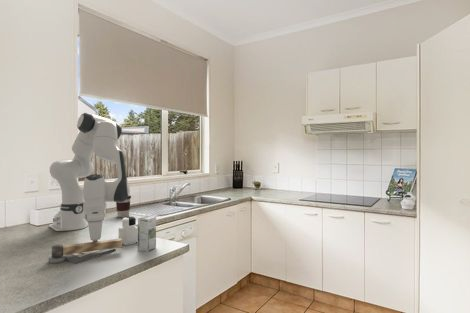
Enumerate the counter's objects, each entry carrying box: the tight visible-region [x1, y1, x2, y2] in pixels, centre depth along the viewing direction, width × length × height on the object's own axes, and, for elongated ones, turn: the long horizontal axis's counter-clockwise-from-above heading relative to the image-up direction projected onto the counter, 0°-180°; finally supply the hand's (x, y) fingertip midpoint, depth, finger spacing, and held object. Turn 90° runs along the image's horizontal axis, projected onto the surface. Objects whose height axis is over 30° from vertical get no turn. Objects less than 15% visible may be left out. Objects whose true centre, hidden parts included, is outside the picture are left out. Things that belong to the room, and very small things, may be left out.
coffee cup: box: [115, 194, 132, 218], centre depth 197 cm, size 10×10×15 cm
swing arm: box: [51, 238, 123, 258], centre depth 122 cm, size 26×4×4 cm, turn 116°
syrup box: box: [137, 215, 157, 252], centre depth 132 cm, size 6×6×14 cm
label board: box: [48, 248, 117, 265], centre depth 124 cm, size 16×23×2 cm
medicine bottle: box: [118, 216, 138, 246], centre depth 141 cm, size 7×7×12 cm
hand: (95, 244), depth 126 cm, fingers closed
